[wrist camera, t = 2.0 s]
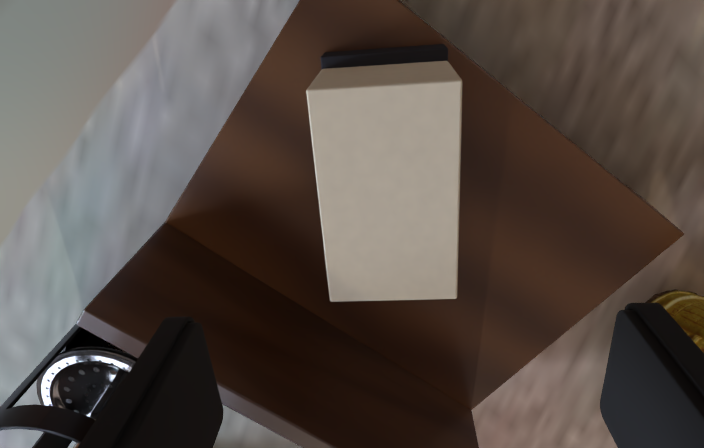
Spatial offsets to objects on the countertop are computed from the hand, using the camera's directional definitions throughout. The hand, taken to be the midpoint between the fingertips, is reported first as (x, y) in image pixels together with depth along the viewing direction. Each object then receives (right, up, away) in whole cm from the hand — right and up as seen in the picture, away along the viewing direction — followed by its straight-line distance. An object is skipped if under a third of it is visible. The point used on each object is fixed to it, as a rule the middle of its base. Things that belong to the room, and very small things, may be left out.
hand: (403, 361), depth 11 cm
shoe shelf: (+2, +4, +18) cm, 19 cm away
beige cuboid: (+1, +6, +13) cm, 15 cm away
